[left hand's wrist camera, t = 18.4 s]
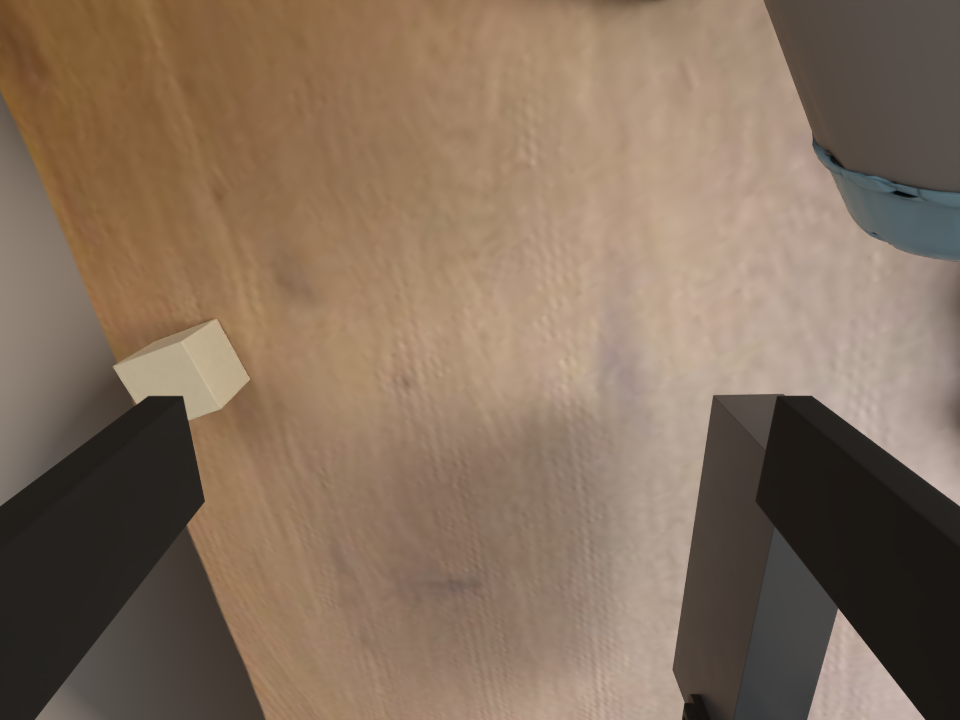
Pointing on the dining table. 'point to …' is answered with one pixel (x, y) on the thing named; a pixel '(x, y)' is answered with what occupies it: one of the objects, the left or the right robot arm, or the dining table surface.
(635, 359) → the dining table surface
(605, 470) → the dining table surface
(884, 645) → the left robot arm
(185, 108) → the dining table surface
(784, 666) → the plank
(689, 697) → the right robot arm
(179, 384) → the cream block
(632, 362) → the dining table surface
